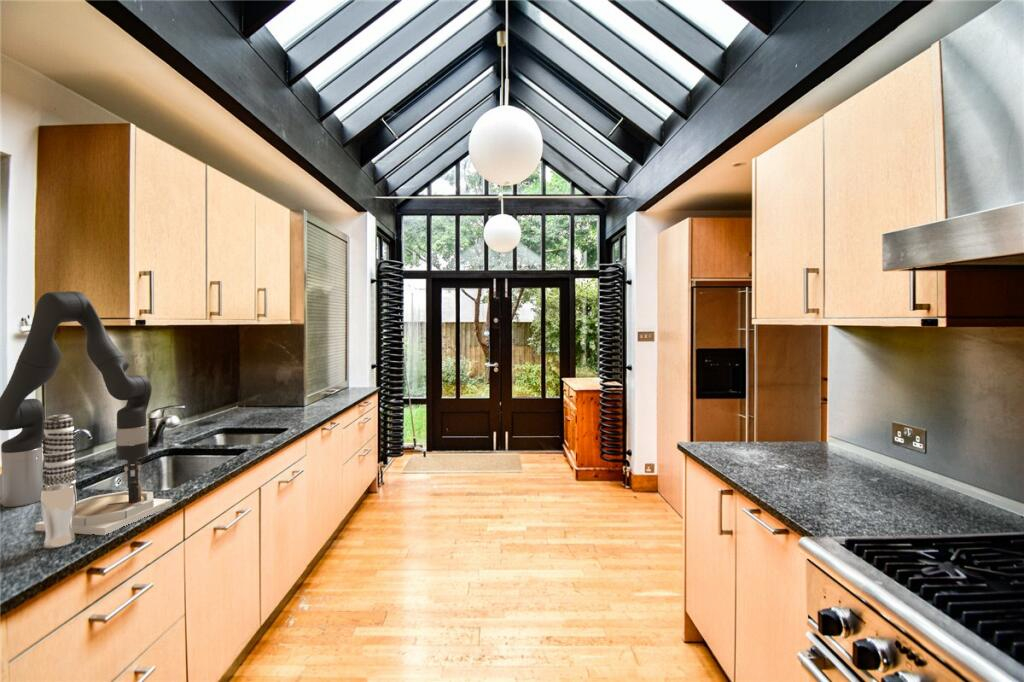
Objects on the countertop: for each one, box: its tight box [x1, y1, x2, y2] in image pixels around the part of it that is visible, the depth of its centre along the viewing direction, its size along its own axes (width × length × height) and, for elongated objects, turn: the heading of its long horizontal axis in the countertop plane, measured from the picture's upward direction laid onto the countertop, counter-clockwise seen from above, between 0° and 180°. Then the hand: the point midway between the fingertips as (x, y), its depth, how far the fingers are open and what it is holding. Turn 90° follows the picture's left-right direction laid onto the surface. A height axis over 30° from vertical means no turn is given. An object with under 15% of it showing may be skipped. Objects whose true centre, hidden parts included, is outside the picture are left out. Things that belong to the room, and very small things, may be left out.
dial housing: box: [35, 490, 173, 536], centre depth 143 cm, size 22×22×4 cm
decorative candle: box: [42, 413, 77, 487], centre depth 173 cm, size 9×9×25 cm
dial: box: [75, 479, 144, 516], centre depth 143 cm, size 17×17×8 cm
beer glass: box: [39, 482, 78, 549], centre depth 126 cm, size 7×7×15 cm
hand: (133, 498), depth 146 cm, fingers closed on dial, 3 cm apart
